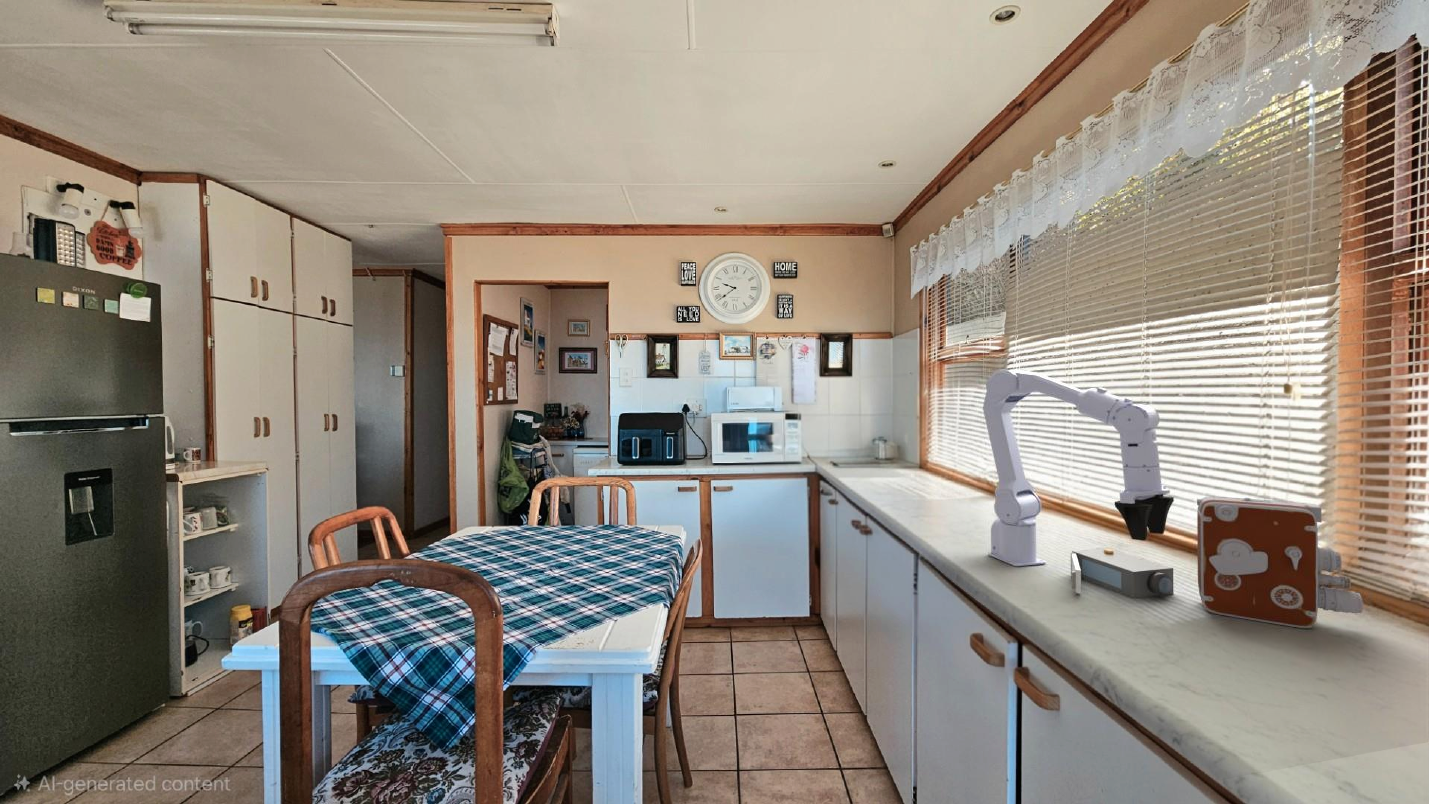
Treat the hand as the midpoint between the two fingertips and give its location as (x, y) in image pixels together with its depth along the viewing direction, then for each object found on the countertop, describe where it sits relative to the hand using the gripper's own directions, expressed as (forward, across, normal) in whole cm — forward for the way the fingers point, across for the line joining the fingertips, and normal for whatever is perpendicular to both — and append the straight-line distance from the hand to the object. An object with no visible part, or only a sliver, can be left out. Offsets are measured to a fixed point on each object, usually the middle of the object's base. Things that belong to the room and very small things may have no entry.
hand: (1147, 536), depth 107 cm
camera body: (+10, +1, +6) cm, 12 cm away
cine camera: (+12, +2, -16) cm, 20 cm away
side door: (+10, -7, +11) cm, 16 cm away
